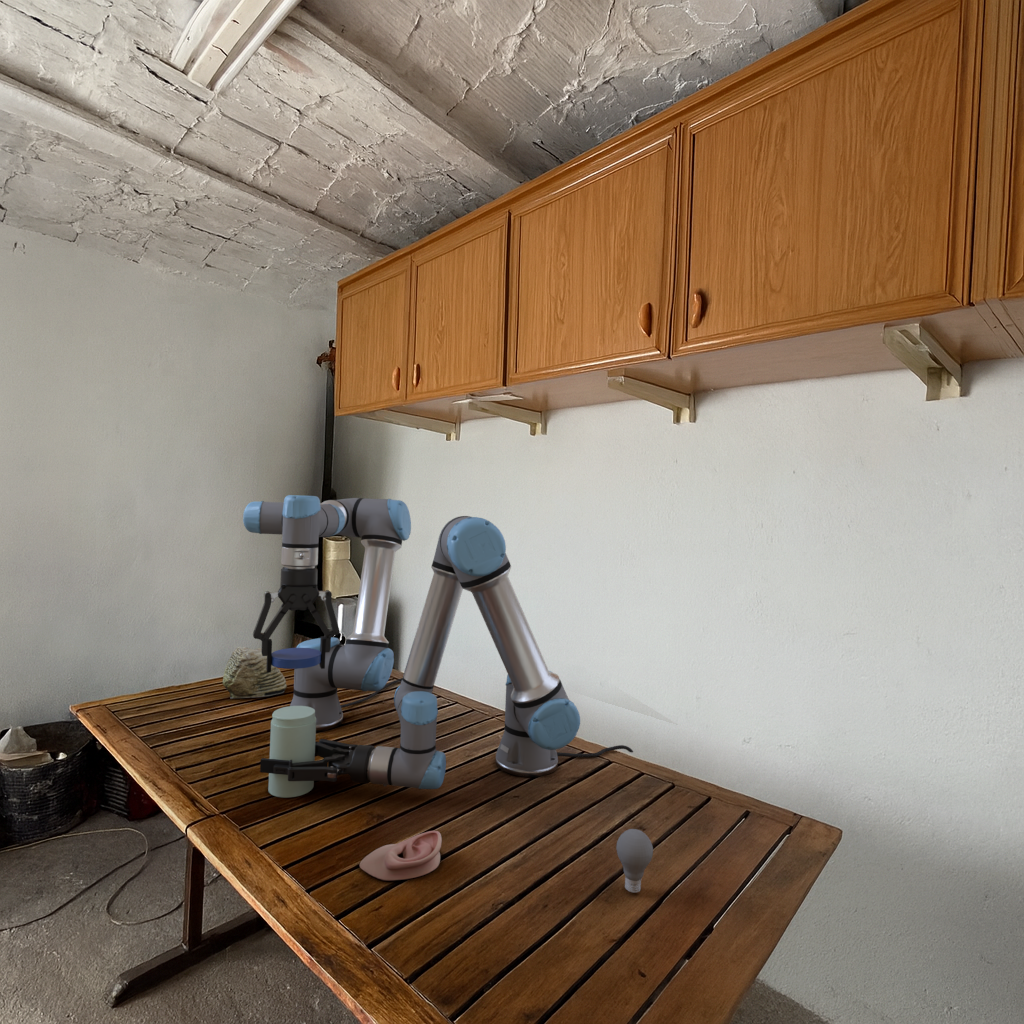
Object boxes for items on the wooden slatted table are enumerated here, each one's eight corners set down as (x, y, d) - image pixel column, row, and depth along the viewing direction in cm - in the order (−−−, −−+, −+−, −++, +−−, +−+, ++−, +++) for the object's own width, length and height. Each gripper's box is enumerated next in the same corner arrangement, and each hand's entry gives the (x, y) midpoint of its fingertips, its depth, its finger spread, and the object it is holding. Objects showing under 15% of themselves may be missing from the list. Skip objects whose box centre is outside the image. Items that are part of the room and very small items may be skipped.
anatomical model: (352, 851, 106) (379, 818, 118) (351, 875, 106) (379, 839, 118) (427, 864, 104) (448, 829, 115) (426, 888, 104) (447, 850, 115)
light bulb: (610, 879, 108) (613, 822, 108) (644, 879, 109) (647, 822, 109) (619, 902, 102) (622, 840, 102) (655, 901, 103) (658, 840, 103)
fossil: (218, 695, 195) (220, 647, 195) (278, 685, 208) (279, 640, 207) (228, 703, 189) (230, 653, 188) (289, 692, 201) (290, 645, 201)
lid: (297, 671, 130) (297, 662, 130) (259, 664, 134) (260, 655, 134) (331, 660, 140) (331, 651, 140) (294, 654, 144) (295, 645, 144)
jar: (275, 778, 142) (277, 704, 141) (317, 778, 142) (320, 705, 142) (262, 797, 132) (265, 719, 132) (308, 797, 133) (311, 719, 133)
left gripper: (242, 569, 128) (238, 677, 129) (356, 568, 138) (352, 669, 138) (241, 565, 135) (238, 668, 136) (350, 564, 145) (346, 660, 145)
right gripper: (353, 806, 124) (245, 796, 127) (387, 761, 146) (294, 752, 149) (355, 768, 124) (246, 758, 127) (388, 729, 146) (295, 721, 149)
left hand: (295, 668), depth 137 cm, fingers closed on lid, 10 cm apart
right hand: (272, 755), depth 138 cm, fingers closed on jar, 9 cm apart
